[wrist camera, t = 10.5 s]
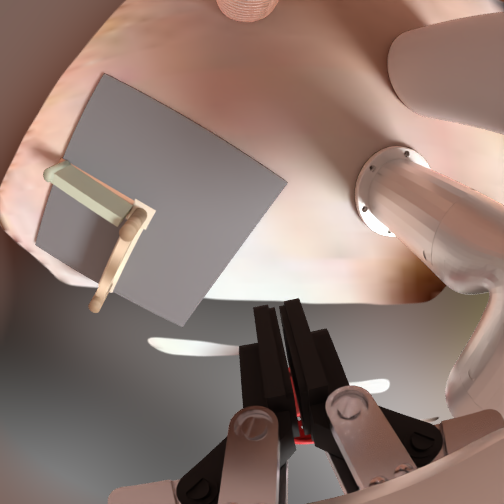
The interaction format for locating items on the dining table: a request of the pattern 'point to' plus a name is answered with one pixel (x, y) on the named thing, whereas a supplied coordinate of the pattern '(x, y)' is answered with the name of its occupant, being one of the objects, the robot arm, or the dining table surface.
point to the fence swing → (88, 192)
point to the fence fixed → (118, 257)
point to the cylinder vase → (453, 71)
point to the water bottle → (246, 9)
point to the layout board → (156, 201)
